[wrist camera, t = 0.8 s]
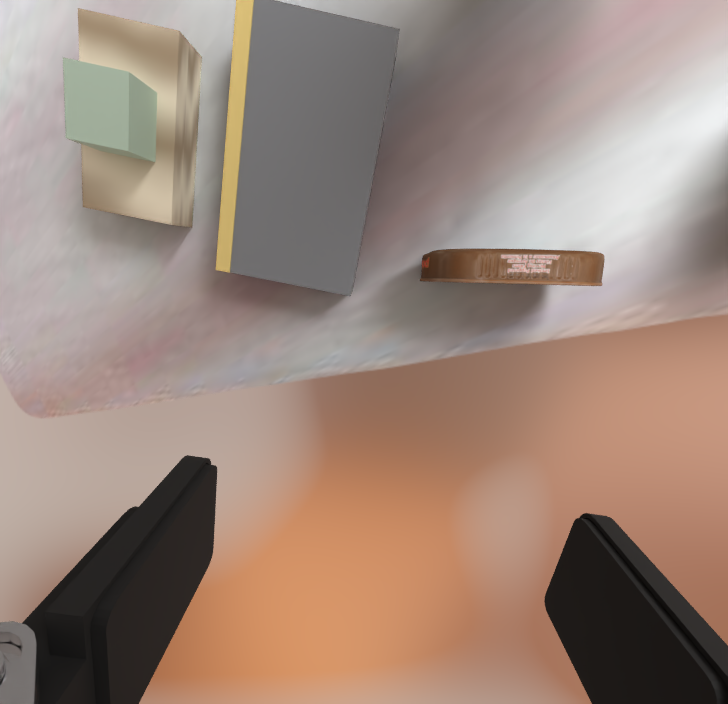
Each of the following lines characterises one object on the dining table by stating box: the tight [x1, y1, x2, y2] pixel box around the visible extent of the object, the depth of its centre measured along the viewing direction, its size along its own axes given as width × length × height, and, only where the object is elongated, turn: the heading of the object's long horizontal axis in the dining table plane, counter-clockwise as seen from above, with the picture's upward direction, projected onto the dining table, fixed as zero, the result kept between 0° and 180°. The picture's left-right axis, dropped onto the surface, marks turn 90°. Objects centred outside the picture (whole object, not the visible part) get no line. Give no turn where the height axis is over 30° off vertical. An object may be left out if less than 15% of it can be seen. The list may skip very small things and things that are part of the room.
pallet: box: [78, 8, 202, 227], centre depth 30 cm, size 14×8×4 cm, turn 169°
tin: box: [420, 249, 604, 286], centre depth 31 cm, size 15×3×8 cm, turn 89°
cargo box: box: [63, 58, 157, 162], centre depth 27 cm, size 5×4×3 cm
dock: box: [216, 0, 400, 296], centre depth 30 cm, size 20×12×4 cm, turn 169°
